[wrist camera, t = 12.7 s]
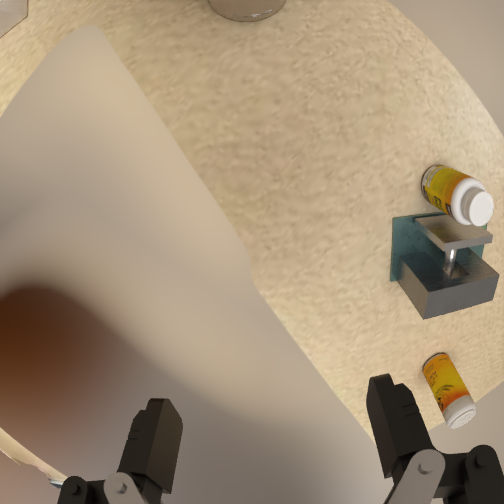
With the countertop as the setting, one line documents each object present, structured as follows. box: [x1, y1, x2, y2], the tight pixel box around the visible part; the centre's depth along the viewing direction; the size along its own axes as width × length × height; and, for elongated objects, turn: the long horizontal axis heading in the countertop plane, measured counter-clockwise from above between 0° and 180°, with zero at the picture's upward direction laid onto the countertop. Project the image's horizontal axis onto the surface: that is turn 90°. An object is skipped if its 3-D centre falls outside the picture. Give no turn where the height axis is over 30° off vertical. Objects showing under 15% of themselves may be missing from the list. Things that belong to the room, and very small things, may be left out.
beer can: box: [423, 354, 476, 429], centre depth 41 cm, size 6×6×15 cm
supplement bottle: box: [422, 165, 494, 226], centre depth 29 cm, size 6×6×10 cm
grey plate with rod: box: [415, 215, 493, 279], centre depth 32 cm, size 8×14×8 cm, turn 99°
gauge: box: [390, 212, 499, 320], centre depth 33 cm, size 10×18×10 cm, turn 99°
